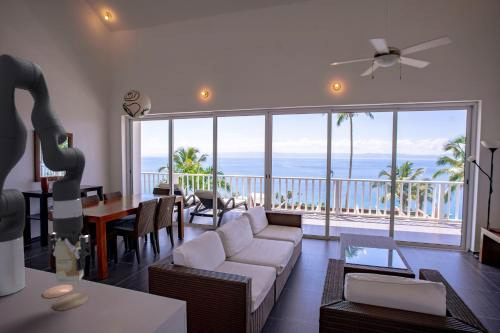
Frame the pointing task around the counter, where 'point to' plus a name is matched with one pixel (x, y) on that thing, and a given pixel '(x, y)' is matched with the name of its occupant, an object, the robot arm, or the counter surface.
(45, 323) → the counter surface
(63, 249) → the skincare box
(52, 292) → the peach glossy dome
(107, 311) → the counter surface
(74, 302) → the walnut coaster
